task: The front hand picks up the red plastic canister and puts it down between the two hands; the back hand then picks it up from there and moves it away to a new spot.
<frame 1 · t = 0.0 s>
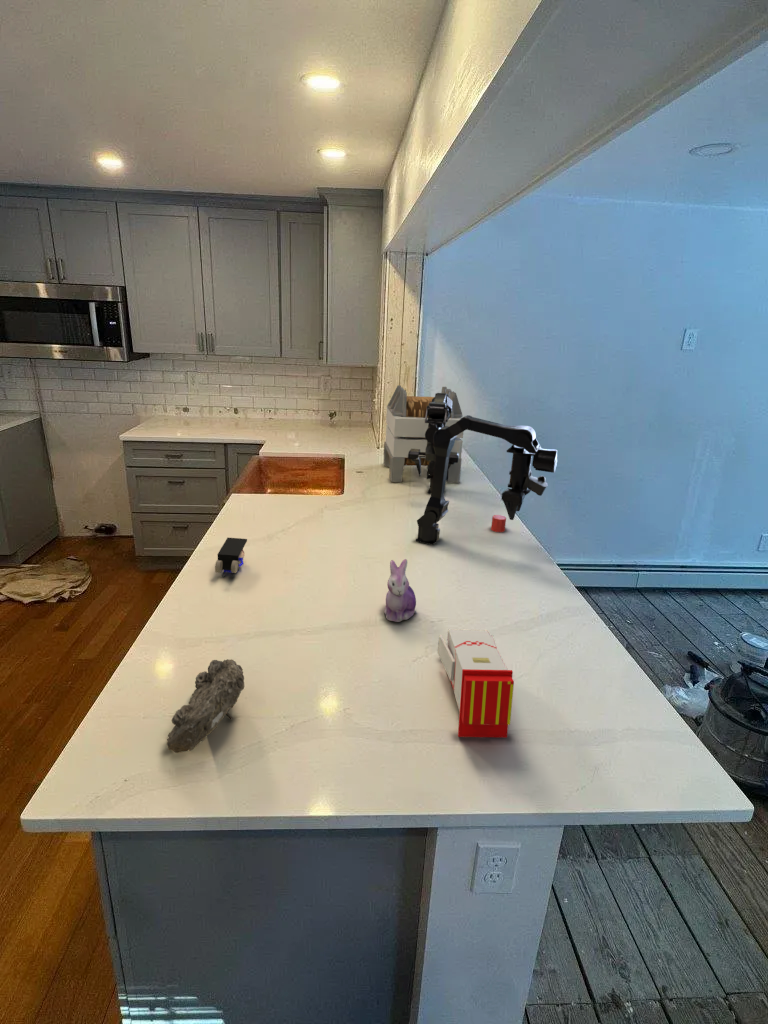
front hand: (514, 515, 180), 15 cm above the counter, tool pointing down, fingers open, 9 cm apart
back hand: (431, 477, 216), 15 cm above the counter, tool pointing down, fingers open, 9 cm apart
transformer: (419, 473, 275), on the counter
fossil: (212, 717, 108), on the counter
figurine: (399, 614, 147), on the counter
canister: (497, 529, 208), on the counter
toy: (469, 691, 119), on the counter
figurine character: (232, 569, 168), on the counter
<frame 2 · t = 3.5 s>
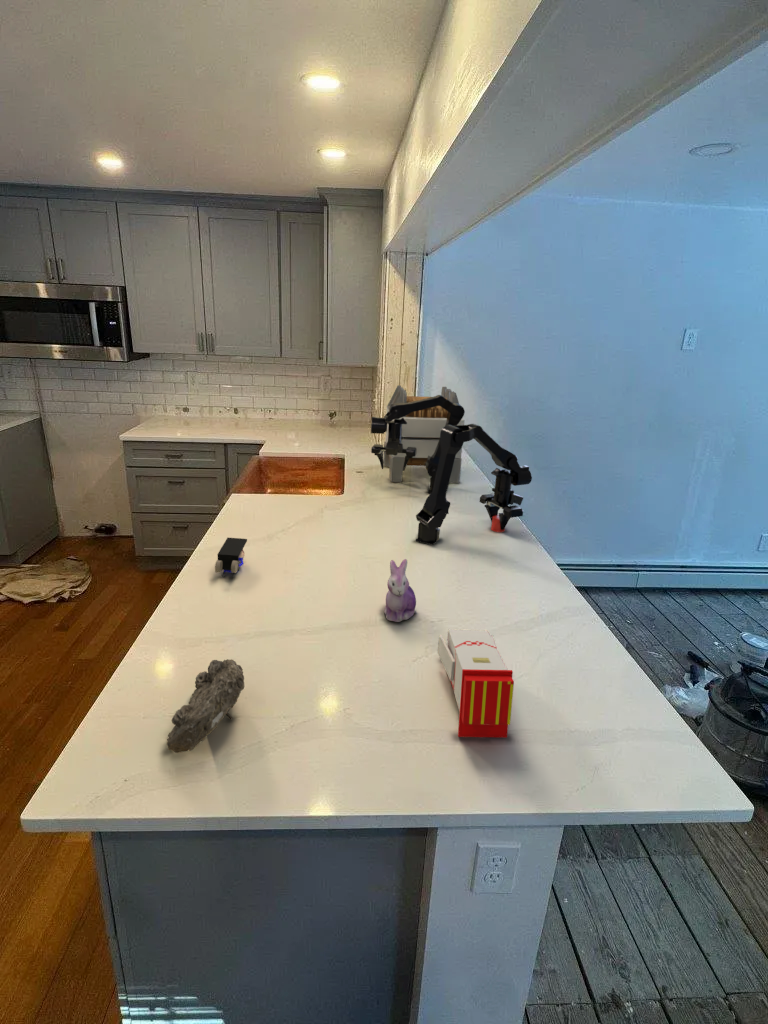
front hand: (498, 527, 207), 1 cm above the counter, tool pointing down, fingers closed on canister, 5 cm apart
back hand: (393, 469, 243), 10 cm above the counter, tool pointing down, fingers open, 9 cm apart
canister: (497, 529, 208), on the counter, touching front hand
everything else where it was.
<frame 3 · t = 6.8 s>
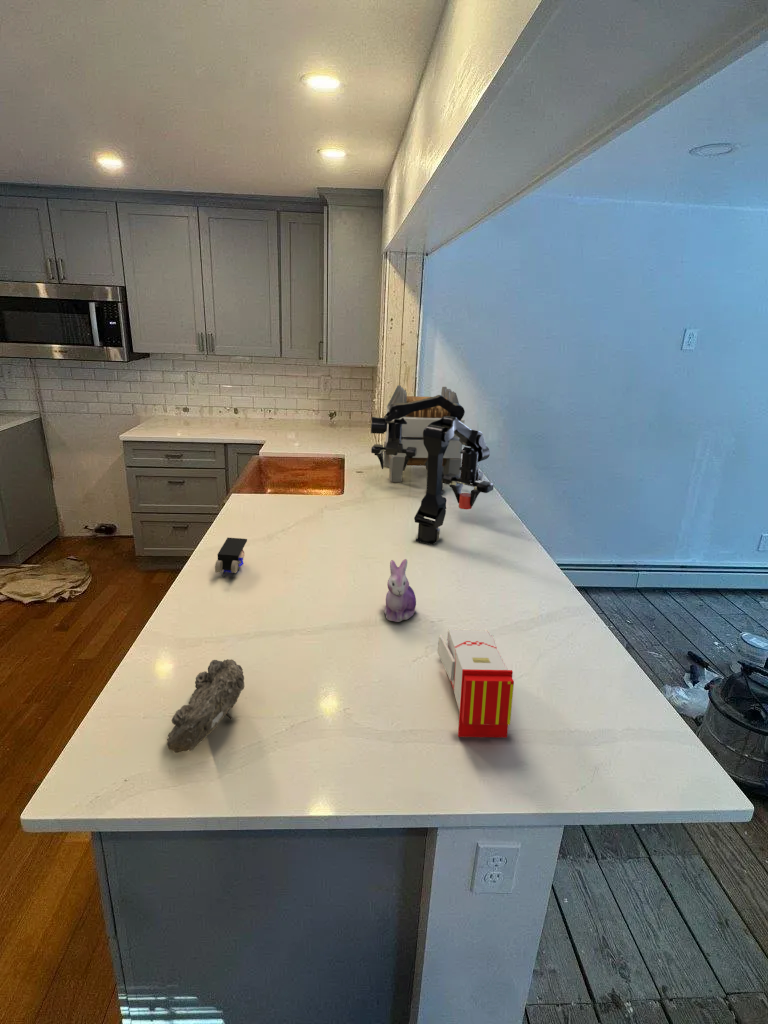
front hand: (465, 504, 212), 7 cm above the counter, tool pointing down, fingers closed on canister, 5 cm apart
back hand: (393, 469, 243), 10 cm above the counter, tool pointing down, fingers open, 9 cm apart
canister: (465, 507, 213), point 6 cm above the counter, touching front hand
everything else where it was.
when the front hand's fingers open (2 cm above the counter, at t = 9.9 s): canister stays where it is, on the counter.
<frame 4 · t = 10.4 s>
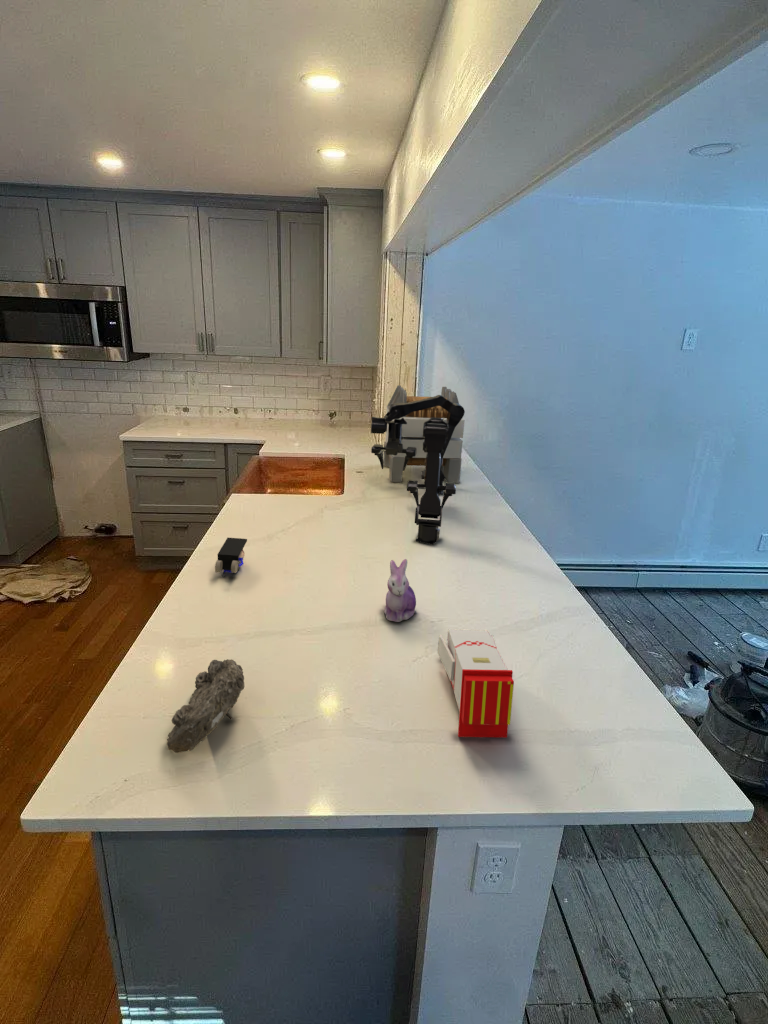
front hand: (429, 508, 221), 2 cm above the counter, tool pointing down, fingers open, 9 cm apart
back hand: (393, 469, 243), 10 cm above the counter, tool pointing down, fingers open, 9 cm apart
canister: (429, 513, 222), on the counter
everything else where it was.
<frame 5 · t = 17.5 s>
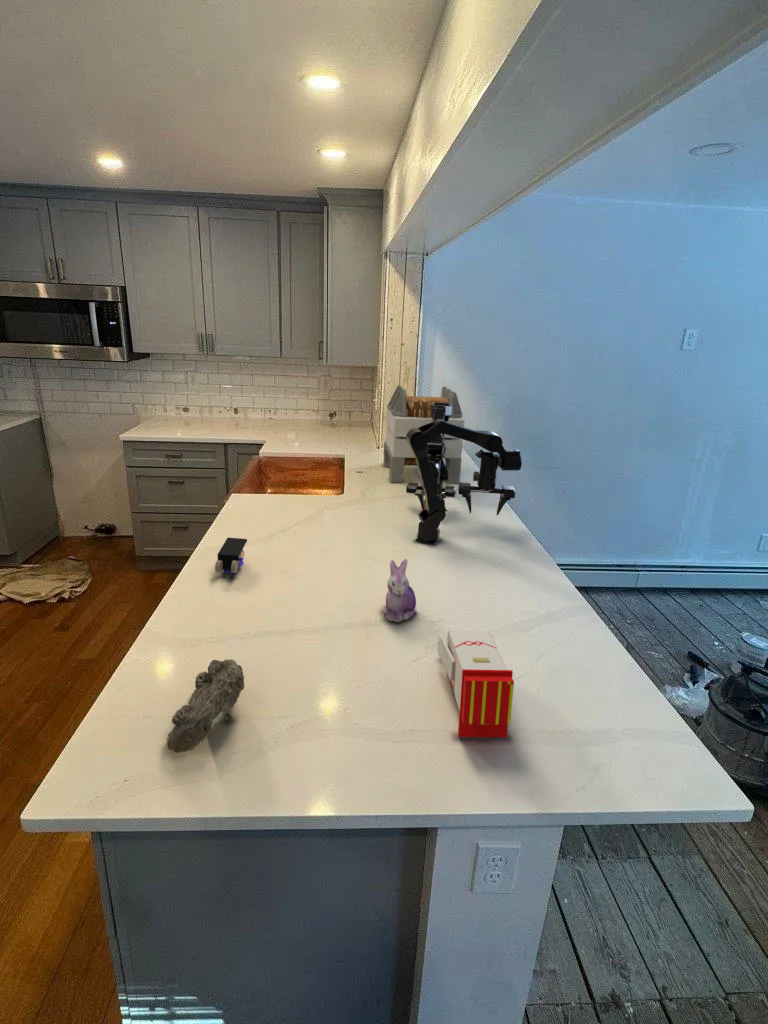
front hand: (483, 513, 195), 10 cm above the counter, tool pointing down, fingers open, 9 cm apart
back hand: (429, 510, 222), 1 cm above the counter, tool pointing down, fingers closed on canister, 5 cm apart
canister: (429, 513, 222), on the counter, touching back hand
everything else where it was.
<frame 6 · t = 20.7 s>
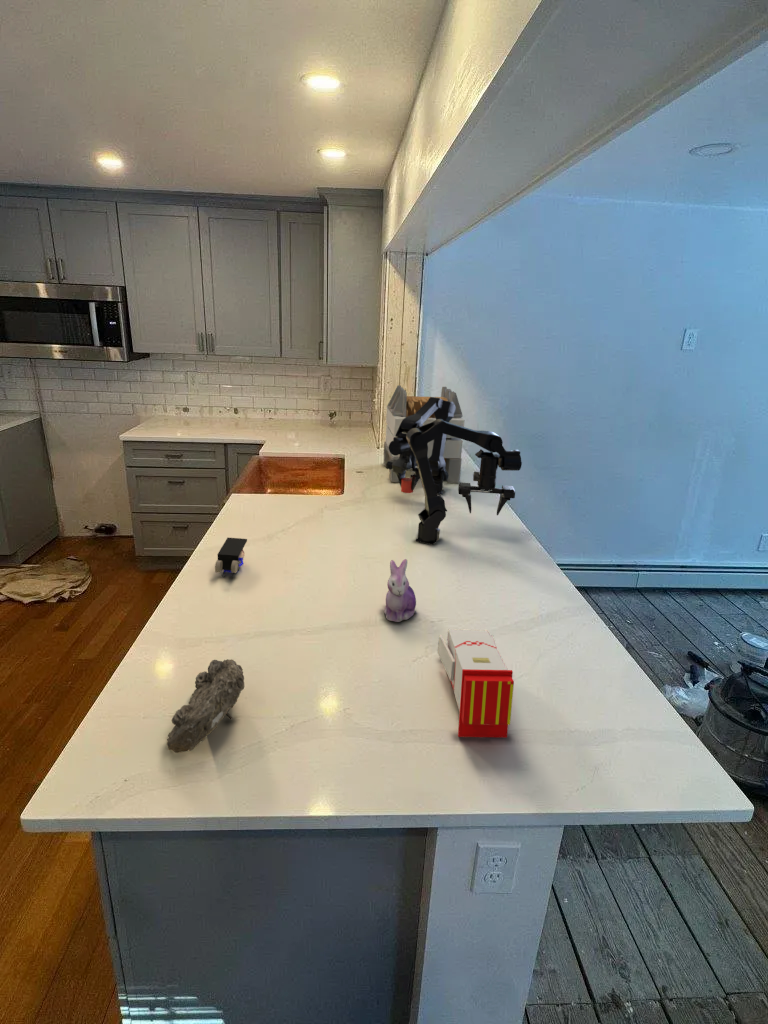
front hand: (483, 513, 195), 10 cm above the counter, tool pointing down, fingers open, 9 cm apart
back hand: (407, 488, 228), 7 cm above the counter, tool pointing down, fingers closed on canister, 5 cm apart
canister: (407, 491, 228), point 6 cm above the counter, touching back hand
everything else where it was.
when the back hand's fingers open (2 cm above the counter, at t = 24.0 s): canister stays where it is, on the counter.
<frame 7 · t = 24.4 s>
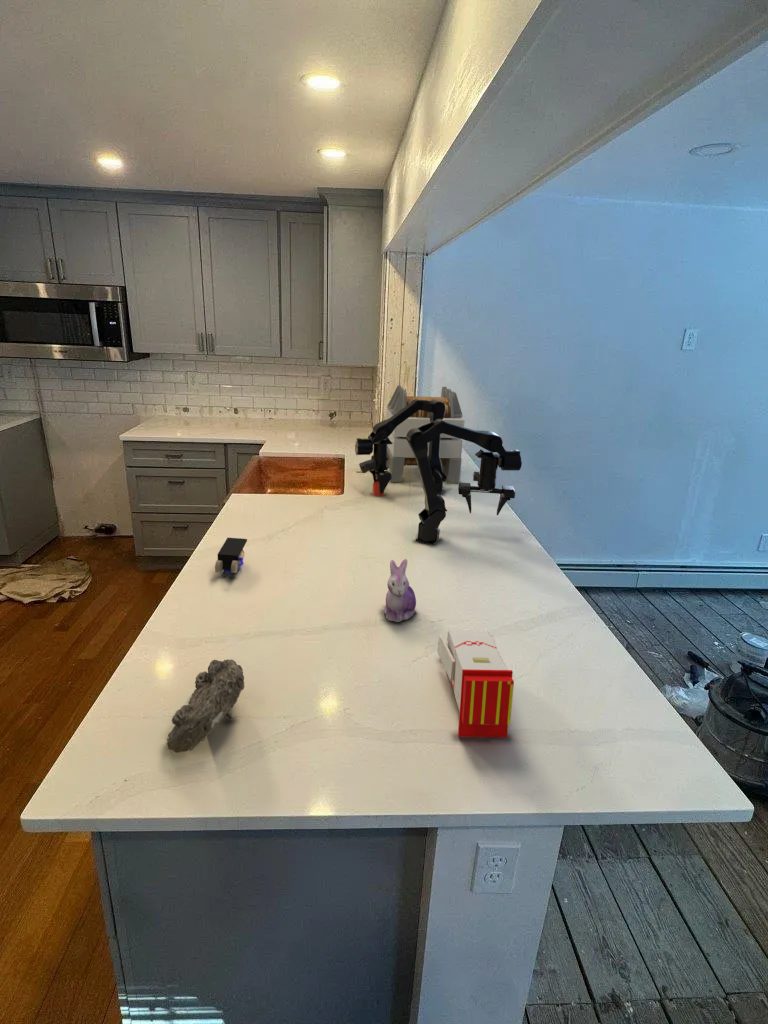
front hand: (483, 513, 195), 10 cm above the counter, tool pointing down, fingers open, 9 cm apart
back hand: (378, 490, 240), 2 cm above the counter, tool pointing down, fingers open, 9 cm apart
canister: (378, 494, 241), on the counter
everything else where it was.
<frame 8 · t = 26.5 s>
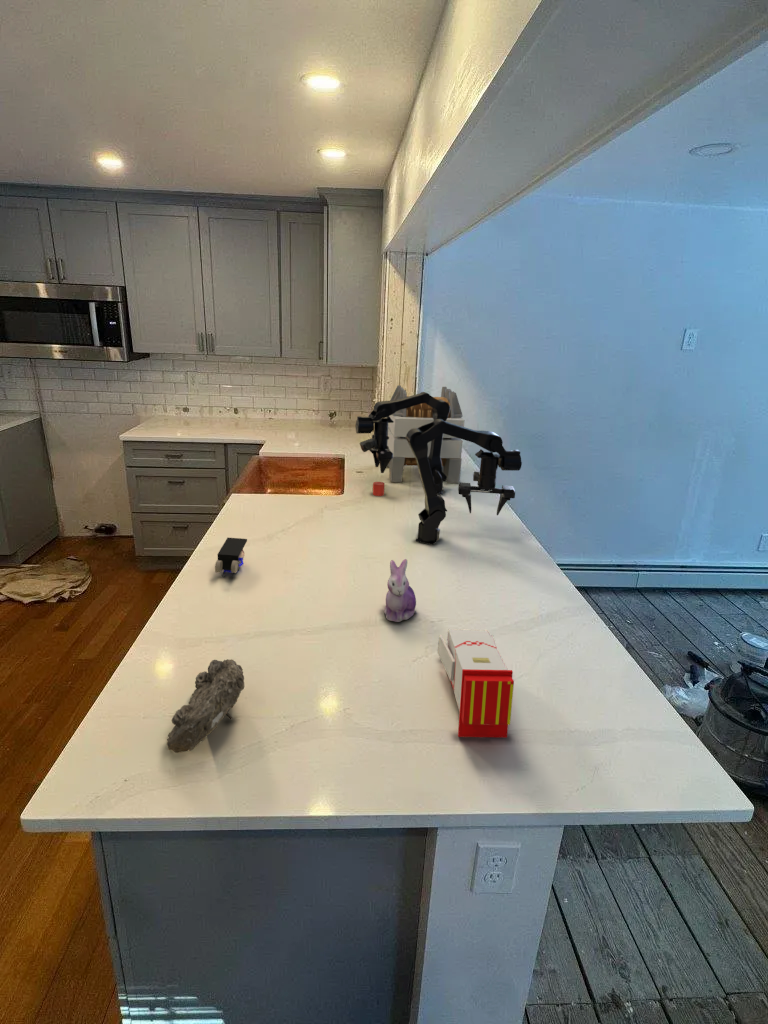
front hand: (483, 513, 195), 10 cm above the counter, tool pointing down, fingers open, 9 cm apart
back hand: (379, 470, 237), 11 cm above the counter, tool pointing down, fingers open, 9 cm apart
nothing on the counter moved.
at the end: canister inside the target area (0.0 cm from its centre), on the counter; canister tilted 0°; the two hands never held the canister at the same time; the front hand is holding nothing; the back hand is holding nothing; canister at rest at the end (0.0 cm/s) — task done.
